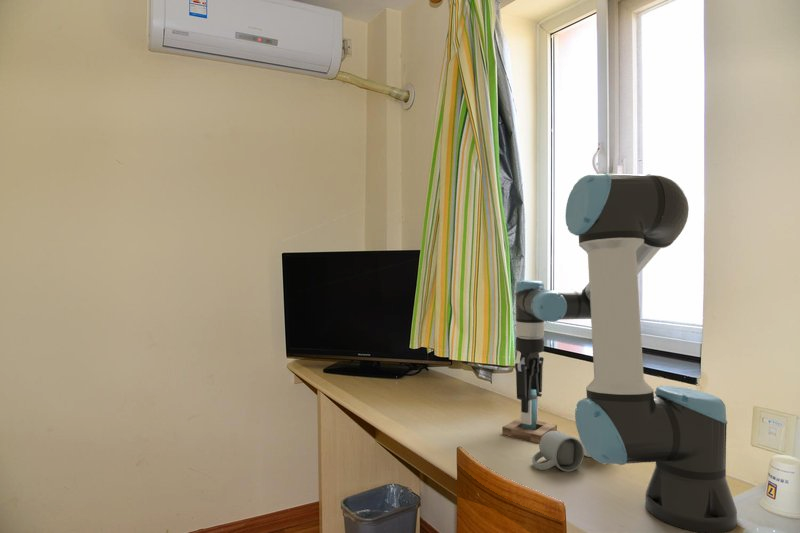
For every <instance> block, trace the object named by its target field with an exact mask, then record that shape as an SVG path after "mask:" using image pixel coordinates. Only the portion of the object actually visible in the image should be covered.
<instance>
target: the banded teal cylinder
mask: <svg viewBox="0 0 800 533" xmlns="http://www.w3.org/2000/svg"><path fill="white" fill-rule="evenodd" d="M536 398H537V393H536V389H532V388H531V391H530V400H532V404H531V425H528V424H523V428H525V429H530V430H534V431H535V430H536Z"/></svg>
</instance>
